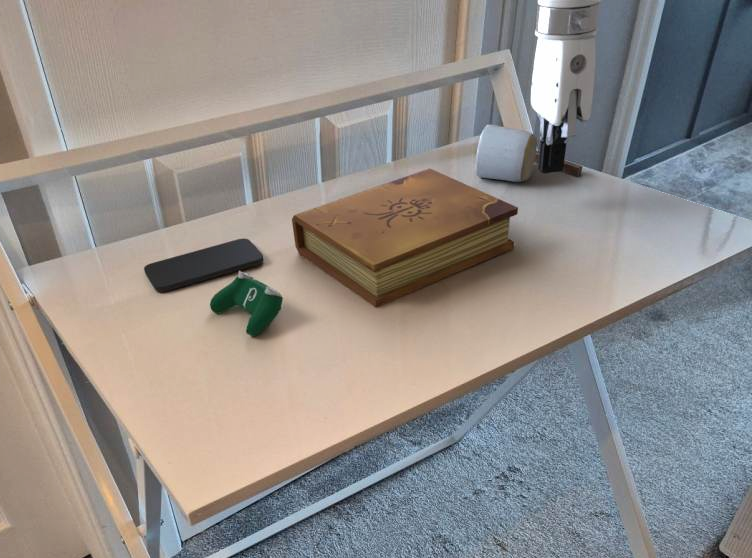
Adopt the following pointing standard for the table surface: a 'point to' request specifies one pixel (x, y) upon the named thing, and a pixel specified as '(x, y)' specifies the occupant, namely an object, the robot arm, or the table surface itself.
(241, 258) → the phone
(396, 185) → the diary
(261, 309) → the gaming controller
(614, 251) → the table surface
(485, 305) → the table surface
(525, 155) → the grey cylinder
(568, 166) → the back rail
